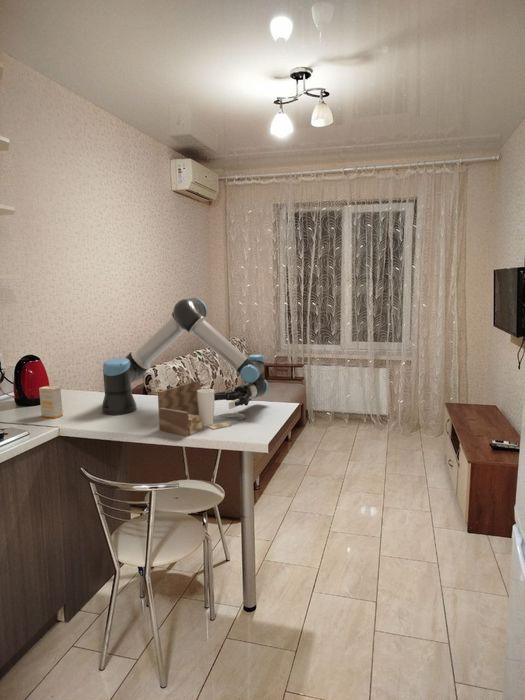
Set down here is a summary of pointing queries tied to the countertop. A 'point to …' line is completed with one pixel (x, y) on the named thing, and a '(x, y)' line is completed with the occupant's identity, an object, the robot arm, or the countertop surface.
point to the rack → (178, 408)
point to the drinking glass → (206, 406)
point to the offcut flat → (219, 426)
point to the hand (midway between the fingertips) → (215, 403)
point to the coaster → (233, 416)
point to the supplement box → (51, 401)
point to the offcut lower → (195, 428)
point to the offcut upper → (193, 419)
